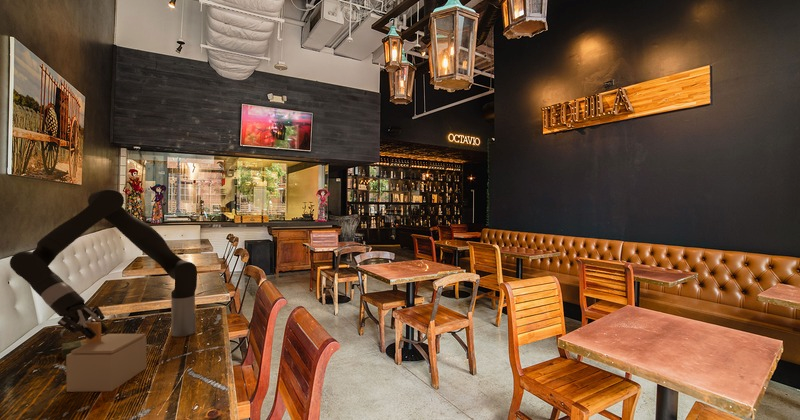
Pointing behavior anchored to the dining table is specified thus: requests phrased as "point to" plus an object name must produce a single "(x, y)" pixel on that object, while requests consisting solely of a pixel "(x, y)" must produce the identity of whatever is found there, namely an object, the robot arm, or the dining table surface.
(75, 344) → the carton
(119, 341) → the tan box lid
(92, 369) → the cardboard box
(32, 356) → the dining table surface
